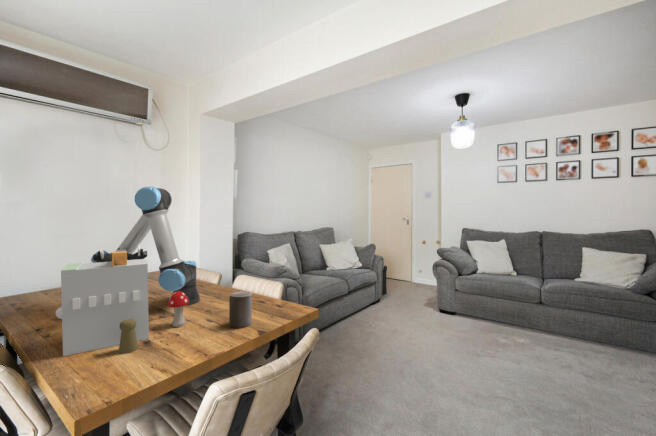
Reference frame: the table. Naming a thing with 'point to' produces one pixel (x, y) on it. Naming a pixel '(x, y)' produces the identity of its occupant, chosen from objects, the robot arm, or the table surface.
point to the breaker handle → (119, 257)
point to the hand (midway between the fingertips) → (120, 248)
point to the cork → (128, 336)
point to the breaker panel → (102, 303)
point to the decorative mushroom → (178, 307)
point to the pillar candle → (240, 309)
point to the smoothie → (59, 313)
